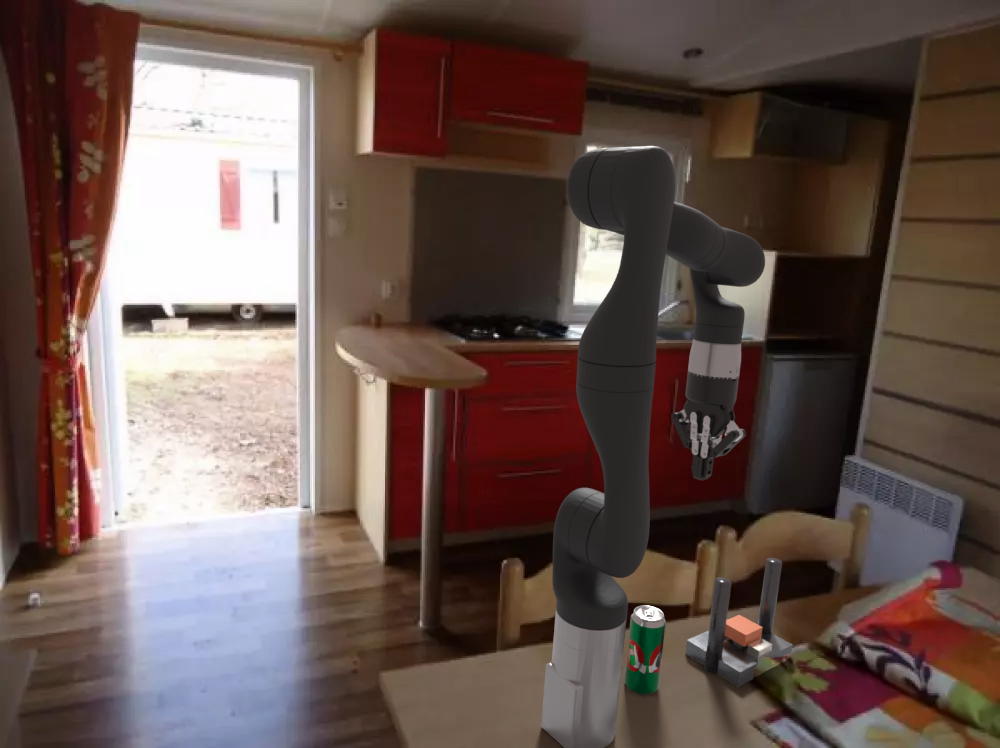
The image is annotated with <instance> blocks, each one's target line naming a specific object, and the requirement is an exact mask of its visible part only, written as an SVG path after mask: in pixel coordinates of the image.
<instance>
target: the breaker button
mask: <svg viewBox="0 0 1000 748" xmlns="http://www.w3.org/2000/svg"><path fill="white" fill-rule="evenodd" d="M762 628H763V627H761V626H759V625H758V623H756V622H753V621H751V620H750V619H748V618H747V617H744V616H742V615H740V614H737V615H736V616H733V617H731V618H729V619H727V621H726V629H725V636H726V637H728V638H730V639H732V640H733V645H735V646H737V647H738V648H740V649H742V650H743V649H745V648H747V645H749V644H751V643H753V642H755V641H757V640H759V639H761V635H762Z"/></svg>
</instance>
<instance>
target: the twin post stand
mask: <svg viewBox="0 0 1000 748" xmlns="http://www.w3.org/2000/svg"><path fill="white" fill-rule="evenodd" d="M765 561H766V562H765V568H764V575H763V582H762V583H763V584H762V588H761V589H762V591H761V596H760V604H759V610H758V618H757V619H758V620H757V625H759V626H761V627H763V628H762V635H761V639H759V640H757V641H755V642H753V643H751V644H749V645H747V648H745V649H743V650H742V649H740V648H738V647H737V646H735V645H733V640H732V639H730V638H728V637H726V636H725V629H726V621H727V620H728V619H727V618H728V612H729V604H730V598H731V597H730V596H731V591H732V590H731V589H732V580H730V579H729V578H727V577H721V576H718V577H715V579H714V584H713V591H712V592H713V595H712V600H711V601H712V602H711V609H710V610H711V611H710V617H709V627H708V630H706V631H704V632H702V633H700V634H697V635H695V636H693V637H691V638H688V639H687V640H686V646H685V655H687V656H688V657H690V658H691V659H692V660H693V661H694V660H695V662H697V663H699V664H700V665H702V666H704V667H703V668H704V671H706V672H707V673H709V674H711V675H718V676H720V677H721V678H722V679H724V680H726V681H728V683H731V684H732V685H734V686H736V687H737V688H739V687H741V686H742V685H744V684H746V683H748V682H750V681H752V680H754V679H753V677H754V674H753V673H754V669H755V667H756V665H757V664H758V659H760V658H762V657H764V656H765V657H771V658H775V657H781V656H784V655H787V654H789V653H791V652H792V653H793V647H794V645H793V643H791V642H789V641H786V640H785V639H783V638H781V637H780V636H777V635H776V634H774V633H773V630H774V629H773V628H774V621H775V617H776V608H777V600H778V593H779V587H780V580H781V573H782V572H781V571H782V567H783V561H782V560H781V559H779V558H777V557H776V558H775V557H767V558H766V560H765Z"/></svg>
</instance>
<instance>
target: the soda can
mask: <svg viewBox="0 0 1000 748" xmlns="http://www.w3.org/2000/svg"><path fill="white" fill-rule="evenodd" d="M666 624H667V621H666V619H665V615H664V612H663V611H662V610H661V609H660V608H658V607H655V606H653V605H652V606H651V605H645V604H644V605H639V606H636V607H635V608H634V609H633V613H632V614H631V615H630V622H629V631H628V642H627V650H626V651H627V652H626V660H625V661H626V662H625V671H624V683H625V685H626V687H627V688H628V689H629V690H630V691H631V692H633V693H635V694H637V695H643V696H647V695H648V696H649V695H652V694H654V693H655V692H657V691H658V690H659V688H660V681H661V674H662V672H661V671H662V663H663V662H662V661H663V653H664V644H665V637H666V636H665V634H666V626H667V625H666Z"/></svg>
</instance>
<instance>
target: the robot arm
mask: <svg viewBox="0 0 1000 748" xmlns="http://www.w3.org/2000/svg"><path fill="white" fill-rule="evenodd" d="M675 178H676V176H675V169H674V164H673V161H672V158H671V156H670V154H669V153H668V152H667V150H666V149H664V148H662V147H660V146H655V145H646V146H644V145H642V146H641V145H640V146H625V147H624V146H621V147H619V146H618V147H602V148H596V149H592V150H588V151H587V152H584V153H583V154H581V155H580V156H579V157H577V159H576V160H575V161H574V162H573V164H572V166H571V168H570V170H569V174H568V177H567V182H566V184H567V185H566V194H567V201H568V205H569V209H570V210H571V211H572V213H573V215H574V216H575V218H576V219H577V220H578V221H579V222H581V224H583V225H585V226H587V227H590V228H592V229H596V230H602V231H608V232H612V233H616V234H618V235H622V236H623V245H622V251H621V257H620V263H619V268H618V272H617V274H616V276H615V279H614V281H613V283H612V285H611V287H610V289H609V291H607V293H606V296H604V298H603V300H602V301H601V303H600V304H599V306H598V307H597V309H596V310H595V312H594V313H593V314H592V316H591V318H590V319H589V321H588V323H587V324H586V326H585V328H584V330H583V332H582V334H581V336H580V340H579V343H578V349H577V350H578V351H577V365H576V369H577V370H576V386H575V387H576V398H577V403H578V407H579V409H580V412H581V415H582V418H583V420H584V423H585V426H586V428H587V430H588V433H589V435H590V437H591V439H592V440H591V441H592V442H593V444H594V446H595V447H594V448H595V449H596V452H597V453H598V456H599V459H600V464H601V469H602V475H603V485H604V486H603V488H604V489H603V491H604V492H602V491H599V490H597V489H593V488H589V487H580V488H579V487H578V488H576V489H575V490H572V491H571V492H570V493H569V494H568V495H566V497H565V498H564V500H563V501H562V503H561V505H560V506H559V508H558V511H557V514H556V517H555V522H554V526H553V527H554V528H553V536H552V537H553V538H552V539H553V540H552V575H551V576H552V581H551V582H552V590H553V593H554V596H555V599H556V601H555V603H556V604H555V615H554V617H555V618H554V628H553V629H554V632H553V642H552V643H553V645H552V653H551V655H552V656H551V657H552V658H551V662H549V663H546V665H545V671H544V672H545V674H544V687H543V700H542V701H543V702H542V715H541V723H540V724H541V726H540V727H541V728H542V729H543V730H544V731H546V732H547V734H549V736H551V737H552V738H553V739H554V740H556V742H557V743H558V744H560V745H561V746H562V747H563V748H606V747H608V746H610V744H611V743H613V741H614V739H615V737H616V733H617V732H616V731H617V723H618V722H617V721H618V720H617V719H618V710H619V701H620V700H619V699H620V690H621V689H620V688H621V678H622V669H623V659H624V658H623V657H624V648H625V637H626V628H627V619H628V609H629V608H628V607H629V602H628V596H627V593H626V592H625V589H624V588H623V587H622V586H621V585H620V584H619V582H617V580H616V579H615V578H617V579H624V578H627V577H630V576H631V575H633V574H634V573H635V572H636V571H637V569H638V568H639V567H640V565H641V563H642V561H643V559H644V557H645V554H646V552H647V547H648V542H649V538H650V537H649V536H650V524H651V523H650V522H651V521H650V520H651V519H650V518H651V517H650V516H651V515H650V513H651V511H650V510H651V509H650V506H651V505H650V473H649V471H650V469H649V457H650V456H649V454H650V453H649V452H650V432H651V419H652V418H651V416H652V406H653V399H654V389H655V388H654V387H655V377H656V362H657V343H658V342H657V341H658V340H657V337H658V324H659V310H660V300H661V288H662V283H663V276H664V275H663V274H664V270H665V269H664V268H665V261H666V256H668V257H670V258H672V259H673V260H675V261H676V262H678V263H680V264H682V265H683V266H685V267H687V268H689V275H690V280H691V287H692V291H693V300H694V301H693V302H694V306H695V307H694V308H695V321H694V329H693V338H692V344H691V348H690V352H689V357H688V359H689V360H688V368H687V376H686V377H687V379H686V387H685V397H686V401H685V404H684V406H683V408H682V409H681V410H680V411H679V412H678V411H677V412H673V413H671V416H670V417H671V420H672V422H673V424H674V427H675V429H676V432H677V434H678V436H679V438H680V441H681V442H682V445H683V447H684V448H685V449H689V450H690V451H691V453H692V455H693V456H692V461H691V462H692V463H691V464H692V465H691V473H692V477H693V478H694V479H696V480H699V481H706V480H708V479H709V478H711V476H712V475H713V470H714V469H713V468H714V459H715V458H717V457H718V458H719V457H722V456H724V457H725V456H726V455H727V454H728V453H730V451H731V450H733V449H734V447H736V446H737V444H739V443H740V442H742V441H741V440H743V439H744V438H745V437H746V435H747V432H746V429H743V428H740V427H739V426H738V424H736V422H735V418H736V415H735V412H734V406H735V404H736V402H737V397H738V396H737V395H738V389H739V381H740V380H739V379H740V373H741V372H740V371H741V364H742V342H743V341H742V340H743V334H744V333H743V331H744V324H745V309H744V307H743V306H742V305H741V304H739V303H736V302H734V301H730V300H728V299H725V298H724V297H723V296H722V294H721V291H720V290H719V286H728V287H737V288H739V287H740V288H743V287H748V286H751V285H753V284H755V283H756V282H757V281H758V280H759V279H760V277H761V276H762V275H763V273H764V270H765V266H766V257H765V251H764V249H763V248H762V245H761V244H760V243H759V242H758V241H757V240H756V239H755V238H753V237H751V236H749V235H747V234H745V233H743V232H742V233H741V232H740V231H736V230H734V229H731V228H726V227H725V226H721V225H720V224H719V223H717V222H716V221H715V220H713V219H712V218H711V217H709V216H708V215H706V214H705V213H703V212H702V211H700V210H699V209H696V208H694V207H691V206H689V205H685V204H684V203H680V202H677V201H675V195H676V194H675V193H676V179H675ZM723 434H724V438H722V437H723Z"/></svg>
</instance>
